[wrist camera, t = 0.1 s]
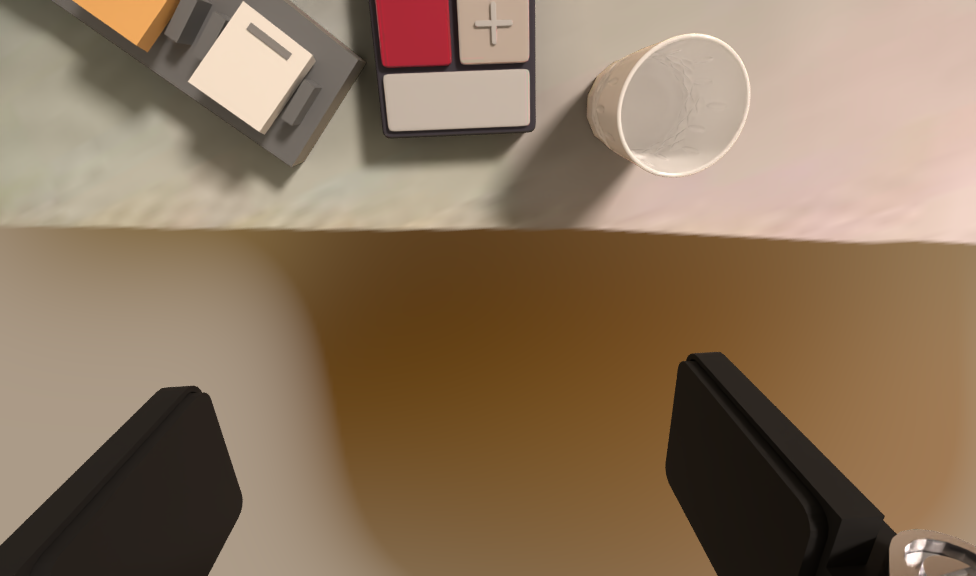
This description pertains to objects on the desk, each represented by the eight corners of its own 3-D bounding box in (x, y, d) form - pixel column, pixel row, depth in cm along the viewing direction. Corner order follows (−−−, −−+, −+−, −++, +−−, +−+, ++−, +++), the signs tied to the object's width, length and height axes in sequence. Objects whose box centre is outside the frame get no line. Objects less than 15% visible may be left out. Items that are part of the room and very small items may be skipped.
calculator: (536, -131, 28) (537, 132, 33) (527, -99, 32) (529, 131, 38) (352, -126, 28) (381, 139, 33) (366, -95, 32) (390, 137, 37)
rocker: (196, 86, 30) (187, 81, 29) (249, 9, 30) (242, 0, 29) (264, 134, 32) (258, 131, 30) (315, 61, 32) (312, 54, 30)
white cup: (562, 81, 36) (596, 78, 27) (658, 27, 35) (729, 4, 26) (600, 174, 39) (644, 200, 30) (691, 127, 38) (765, 138, 29)
